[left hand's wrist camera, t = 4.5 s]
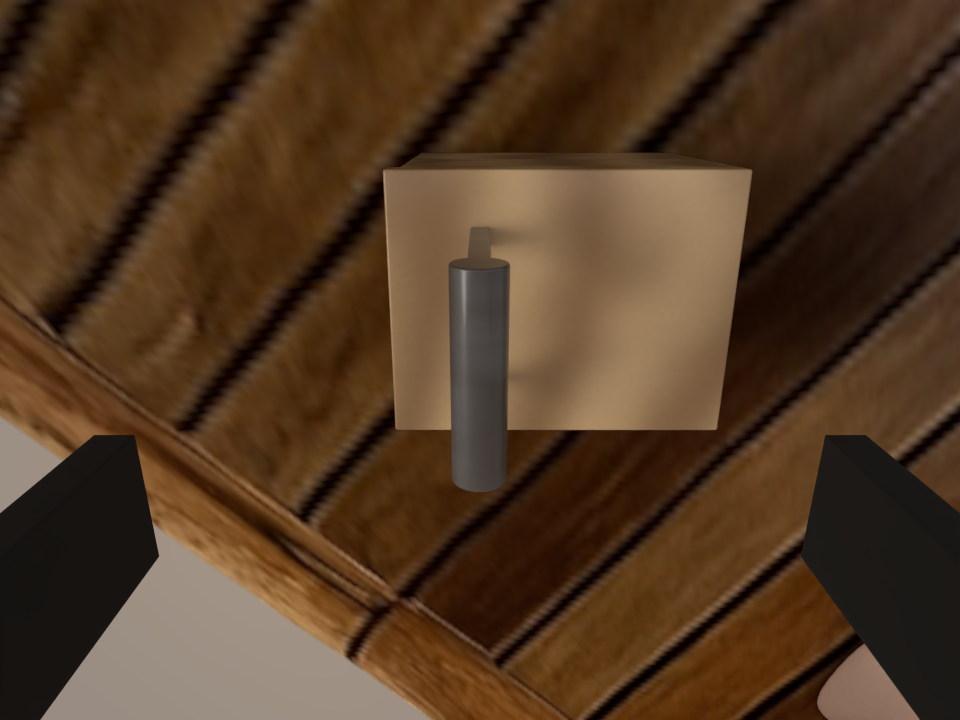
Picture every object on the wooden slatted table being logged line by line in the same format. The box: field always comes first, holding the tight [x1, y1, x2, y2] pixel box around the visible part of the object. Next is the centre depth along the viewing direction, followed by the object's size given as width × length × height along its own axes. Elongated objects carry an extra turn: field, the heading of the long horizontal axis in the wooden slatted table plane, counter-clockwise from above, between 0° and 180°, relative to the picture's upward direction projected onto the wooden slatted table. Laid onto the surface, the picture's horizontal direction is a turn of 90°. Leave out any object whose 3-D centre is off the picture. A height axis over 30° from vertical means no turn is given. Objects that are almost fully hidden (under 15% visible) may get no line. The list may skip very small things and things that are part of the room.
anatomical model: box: [817, 644, 920, 720], centre depth 43 cm, size 13×4×12 cm
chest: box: [401, 153, 738, 167], centre depth 31 cm, size 13×10×10 cm
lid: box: [383, 167, 752, 492], centre depth 22 cm, size 13×10×9 cm
